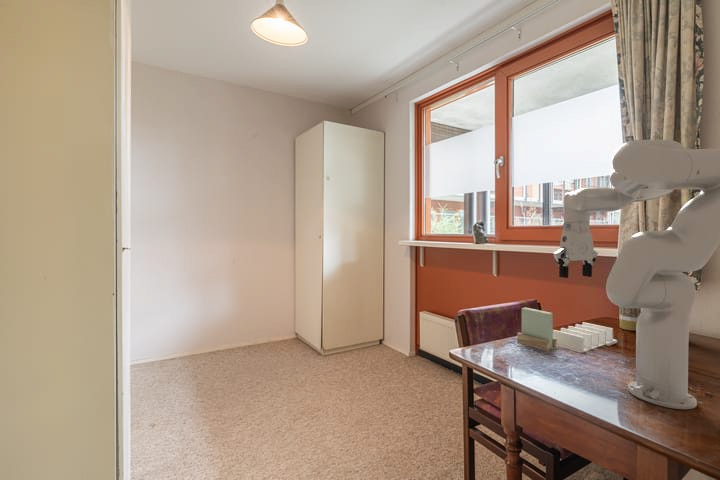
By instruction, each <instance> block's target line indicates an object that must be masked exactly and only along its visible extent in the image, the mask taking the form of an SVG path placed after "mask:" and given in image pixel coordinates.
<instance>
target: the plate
mask: <svg viewBox="0 0 720 480" xmlns="http://www.w3.org/2000/svg"><path fill="white" fill-rule="evenodd" d="M553 314H554V312H550V311H549V312H548V311H545V310H541V309H540V310H539V309H535V308H530V307H526V306H524V307H521V332H520V333H523V334H527V335H530V336H534V337H537V338H541V339H544V340H548V341H549V348H552V340H553V330H554V327H553V326H554V323H553V321H554V320H553Z"/></svg>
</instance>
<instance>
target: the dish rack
mask: <svg viewBox="0 0 720 480" xmlns="http://www.w3.org/2000/svg"><path fill="white" fill-rule="evenodd" d="M553 338H557V347H559V348H560V347H561V348H563V349H567V350H571V351H574V352H578V353H580V354H581V353H584V352H587V351H590V350H593V349H596V348H599V347H602V346H609V347H610V346H612V345H616V344H618V339H615V338H614V328H613V327H609V326H603V325H599V324H595V323H589V322H585V321H584V322H583V321H582V324H578V323H575V325H574V326H572V325H568V326H567V328H565V327H561V328H560V330H558V329H557V330H556V329H553Z"/></svg>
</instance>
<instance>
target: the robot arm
mask: <svg viewBox="0 0 720 480" xmlns="http://www.w3.org/2000/svg"><path fill="white" fill-rule="evenodd" d="M611 167H612V170H611V172H610V173H609V181H610V183H611V186H612V187H594V188H593V187H591V188H590V187H587V188H586V187H585V188H579V189H577V190H574V191H569V192H566V193H565V194H564V196H563V224H562V225H561V226H562V228H563V229H562V230H563V231H562V233H561V237H560V243H559V249H558V250H557V251H555V252H553V254H552V255H553V258H554V261H555V262H556V263H557V265H558V267H559V271H558V272H559V273H558V274H559V278H564V279H569V266H568V264H570V262H571V261H573V262H575V261H576V262H580V261H582V263H583V264H582V268H581V269H582V276H583V277H586V278H587V277H588V278H591V277H592V276H593V266H594V265H595V264H594V263H595V262H596V261H597V258H598V257H597V256H598V254H599V252H597V250H595V249H594V240H593V239H594V238H593V234H592V233H593V232H592V231H590V219H591V215H590V213H592V212H593V213H594V212H595V213H596V212H597V213H598V212H605V213H606V212H616V211H619V210H622V209H624V208H626V207H628V206H630V205H631V204H633V203H634V202H636V201H637V199H638V198H639V196H640V194H641V191H642V189H644V188H646V187H650V188H652V189H656V190H657V189H658V190H670V191H671V190H672V191H673V190H676V191H677V190H700V193H698V194H697V195H696V196H694V197H693V198H692V199H690V200H689V201H687V202H686V203H685V204H684V205H683V206H682V207H681V208H680V210H678V211H677V214H676V216H675V218H674V220H672V223H671V224H670V226H669V227H668V228H667V229H665V230H645V231H639V232H637V233H634V234H633V235H631V236H629V238H627V240H626V241H625V242H624V243H623V245H622V247H621V248H620V250H619V252H618V255H617V258H616V259H615V260H614V261H615V262H614V264H613V266H612V268H611V270H610V272H609V274H608V277H607V279H606V282H605V283H606V284H605V292H606V296H607V297H608V300H610V302H611V303H612V304H614V305H615V306H617V307H619V308H620V307H624V308H641V313H640V315H639V317H638V320H637V325H636V331H635V332H636V333H635V334H636V338H635V341H636V342H635V348H636V349H635V380H633V381H630V382H628V383H627V390H628V391H629V393H630V394H631V395H633V396H635V397H636V398H638V399H640V400H642V401H645V402H647V403H650V404H652V405H657V406H659V407H660V406H661V407H664V408H668V409H674V410H675V409H676V410H692V409H695V408H697V407H698V406H697V405H698V400H697V399H696V397H694V396H693V395H692V394H690V393H688V392H689V391H688V389H689V388H688V387H689V338H690V337H689V335H690V318H691V313H692V309H693V306H694V302H695V299H696V293H697V292H696V285H695V282H694V281H693V279H692V278H691V277H690V276H689V275H688V276H687V275H686V274H685V272H688V273H691V272H696V271H700V270H701V269H702V268H703V267H704V266H705V265H706V264H707V263H708V262H709V260H710V259H711V258H712V256H713V254H714V252H715V251H716V250H717V248H718V247H719V245H720V148H696V149H694V148H692V149H691V148H689V149H688V148H686V147H685V146H684V145H683V144H682V143H680V142H678V141H676V140H671V139H634V140H629V141H626V142H623V144H621V145H619V147H617V148H616V150H615V151H614V153H613V154H612V157H611Z"/></svg>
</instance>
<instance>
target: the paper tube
mask: <svg viewBox="0 0 720 480" xmlns="http://www.w3.org/2000/svg"><path fill="white" fill-rule="evenodd" d="M641 311H642V308H624V307H620V306H619V328H621V329H623V330H626V331H632V332H636V325H637V320H638V317H639V315H640V313H641Z"/></svg>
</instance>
